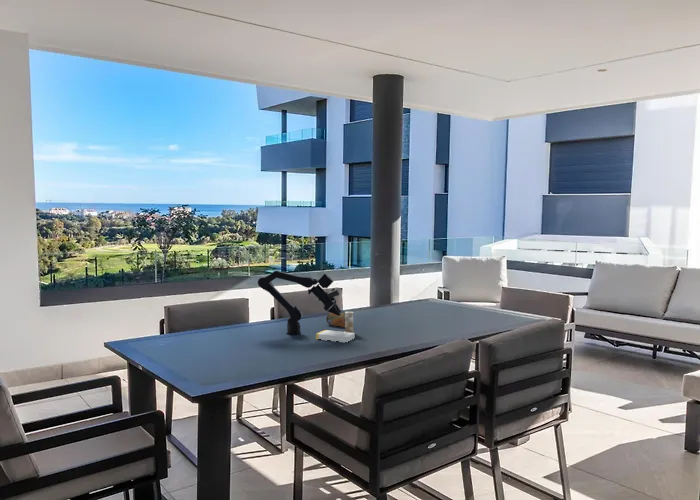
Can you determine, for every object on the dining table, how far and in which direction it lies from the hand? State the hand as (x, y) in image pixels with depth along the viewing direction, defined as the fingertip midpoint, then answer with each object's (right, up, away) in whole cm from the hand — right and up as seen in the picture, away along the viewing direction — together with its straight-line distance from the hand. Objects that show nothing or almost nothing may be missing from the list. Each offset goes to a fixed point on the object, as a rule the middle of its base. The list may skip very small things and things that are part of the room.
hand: (340, 313), depth 302 cm
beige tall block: (+5, -12, +1) cm, 13 cm away
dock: (-2, -12, -11) cm, 17 cm away
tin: (-2, -10, +23) cm, 25 cm away
